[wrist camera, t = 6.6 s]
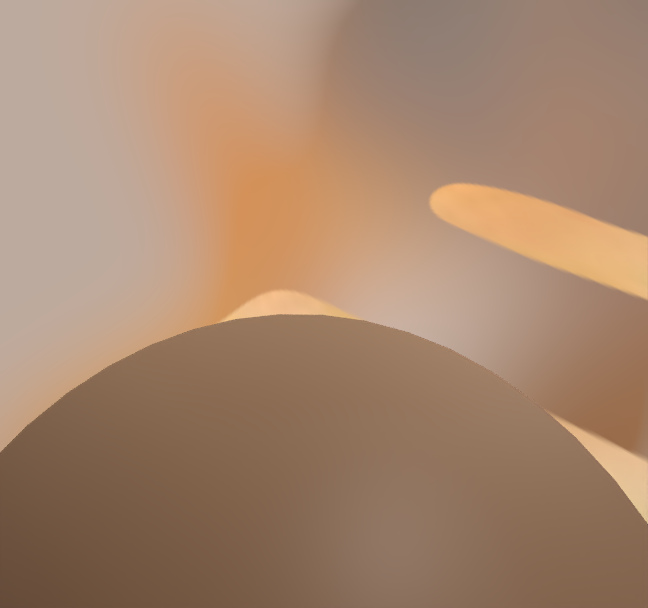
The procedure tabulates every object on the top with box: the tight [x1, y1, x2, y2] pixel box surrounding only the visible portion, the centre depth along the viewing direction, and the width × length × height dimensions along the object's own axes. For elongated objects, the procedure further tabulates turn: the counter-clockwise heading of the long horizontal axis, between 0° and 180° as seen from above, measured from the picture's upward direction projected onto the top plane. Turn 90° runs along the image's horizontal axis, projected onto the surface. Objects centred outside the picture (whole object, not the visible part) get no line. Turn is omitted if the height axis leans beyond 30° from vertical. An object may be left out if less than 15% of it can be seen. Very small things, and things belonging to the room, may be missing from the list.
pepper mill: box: [0, 315, 648, 608], centre depth 8 cm, size 5×5×13 cm
